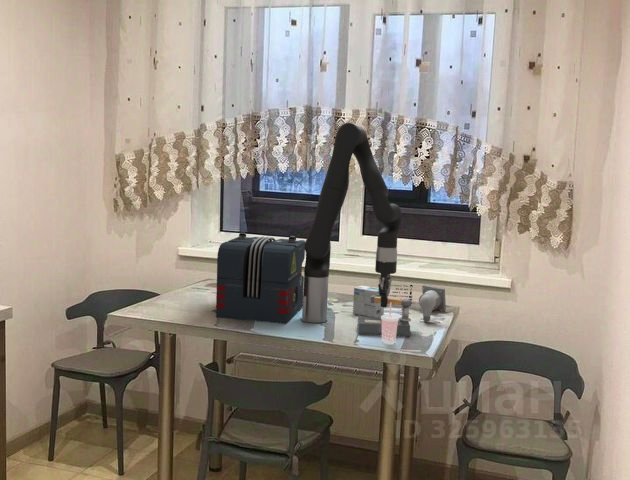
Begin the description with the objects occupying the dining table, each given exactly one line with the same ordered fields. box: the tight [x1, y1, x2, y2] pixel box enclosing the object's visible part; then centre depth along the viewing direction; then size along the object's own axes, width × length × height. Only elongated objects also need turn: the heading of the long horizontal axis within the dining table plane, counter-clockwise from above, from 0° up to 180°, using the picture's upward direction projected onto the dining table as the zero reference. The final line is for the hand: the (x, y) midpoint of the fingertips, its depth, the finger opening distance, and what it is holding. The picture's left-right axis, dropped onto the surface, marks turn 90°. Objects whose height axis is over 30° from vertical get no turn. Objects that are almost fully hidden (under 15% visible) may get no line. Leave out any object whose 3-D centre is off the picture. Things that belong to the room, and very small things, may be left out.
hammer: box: [371, 295, 412, 307], centre depth 246 cm, size 15×4×2 cm, turn 73°
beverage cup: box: [380, 302, 400, 345], centre depth 229 cm, size 6×6×14 cm
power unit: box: [215, 232, 306, 325], centre depth 263 cm, size 28×28×30 cm
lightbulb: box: [419, 294, 436, 323], centre depth 259 cm, size 6×6×11 cm
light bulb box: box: [352, 285, 385, 317], centre depth 267 cm, size 11×7×11 cm, turn 56°
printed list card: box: [389, 284, 447, 312], centre depth 279 cm, size 27×11×10 cm, turn 86°
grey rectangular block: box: [356, 306, 412, 338], centre depth 242 cm, size 19×10×9 cm, turn 89°
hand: (383, 306), depth 243 cm, fingers closed
